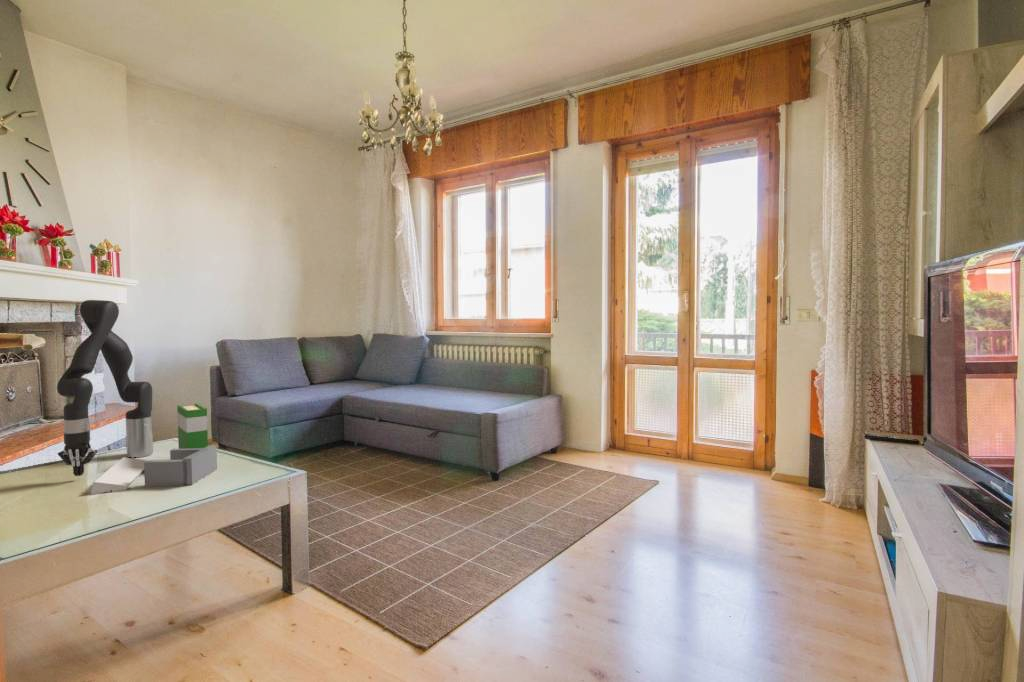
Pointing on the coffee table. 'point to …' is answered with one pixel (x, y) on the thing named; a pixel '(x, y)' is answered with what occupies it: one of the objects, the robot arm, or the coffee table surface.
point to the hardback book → (192, 426)
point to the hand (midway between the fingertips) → (78, 475)
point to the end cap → (181, 467)
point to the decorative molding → (119, 476)
